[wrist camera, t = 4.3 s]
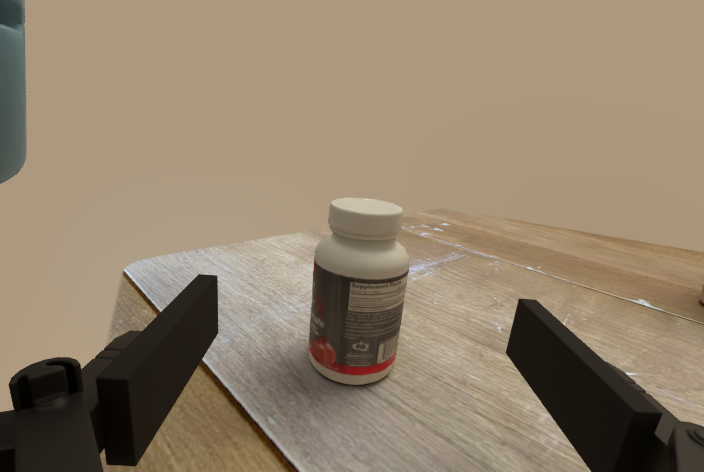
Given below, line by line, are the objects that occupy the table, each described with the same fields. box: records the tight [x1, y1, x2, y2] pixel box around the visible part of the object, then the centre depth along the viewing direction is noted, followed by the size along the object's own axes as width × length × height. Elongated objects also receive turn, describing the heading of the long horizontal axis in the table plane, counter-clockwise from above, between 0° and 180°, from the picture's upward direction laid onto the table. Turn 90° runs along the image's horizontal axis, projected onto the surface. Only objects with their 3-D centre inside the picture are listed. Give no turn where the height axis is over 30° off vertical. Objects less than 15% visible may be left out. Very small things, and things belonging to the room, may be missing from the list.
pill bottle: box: [309, 198, 409, 385], centre depth 21 cm, size 5×5×10 cm
